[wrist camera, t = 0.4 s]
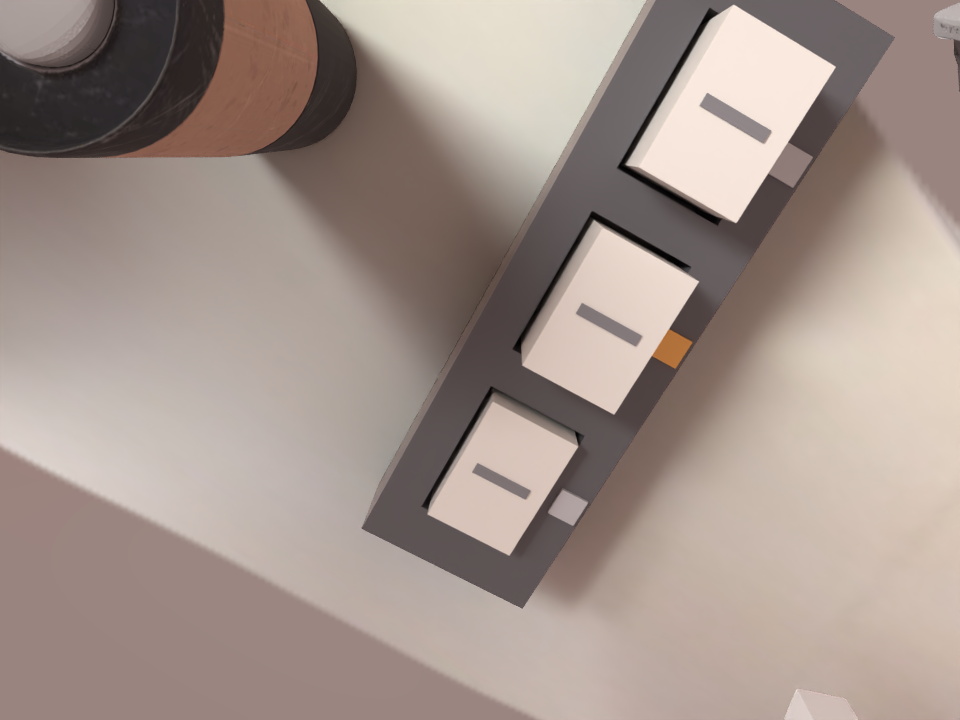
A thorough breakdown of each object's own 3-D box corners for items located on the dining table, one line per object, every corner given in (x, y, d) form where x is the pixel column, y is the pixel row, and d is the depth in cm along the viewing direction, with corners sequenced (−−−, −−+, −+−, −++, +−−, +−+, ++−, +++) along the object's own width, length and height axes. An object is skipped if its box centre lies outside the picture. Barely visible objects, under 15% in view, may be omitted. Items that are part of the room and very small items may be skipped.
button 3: (619, 164, 33) (638, 167, 28) (699, 26, 31) (734, 4, 26) (703, 212, 33) (736, 223, 29) (786, 79, 32) (836, 66, 27)
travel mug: (384, 128, 36) (239, 106, 17) (238, 174, 37) (-59, 203, 18) (332, -40, 34) (98, -285, 15) (179, 13, 35) (-229, -154, 16)
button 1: (437, 469, 40) (427, 515, 35) (495, 369, 38) (493, 402, 33) (509, 506, 40) (509, 556, 35) (569, 409, 38) (578, 447, 33)
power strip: (379, 483, 41) (360, 530, 36) (743, -176, 32) (787, -236, 27) (521, 555, 42) (522, 610, 37) (915, -66, 33) (989, -104, 28)
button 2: (520, 335, 35) (522, 366, 30) (589, 216, 34) (603, 227, 29) (600, 378, 36) (614, 415, 31) (672, 262, 34) (699, 282, 29)
